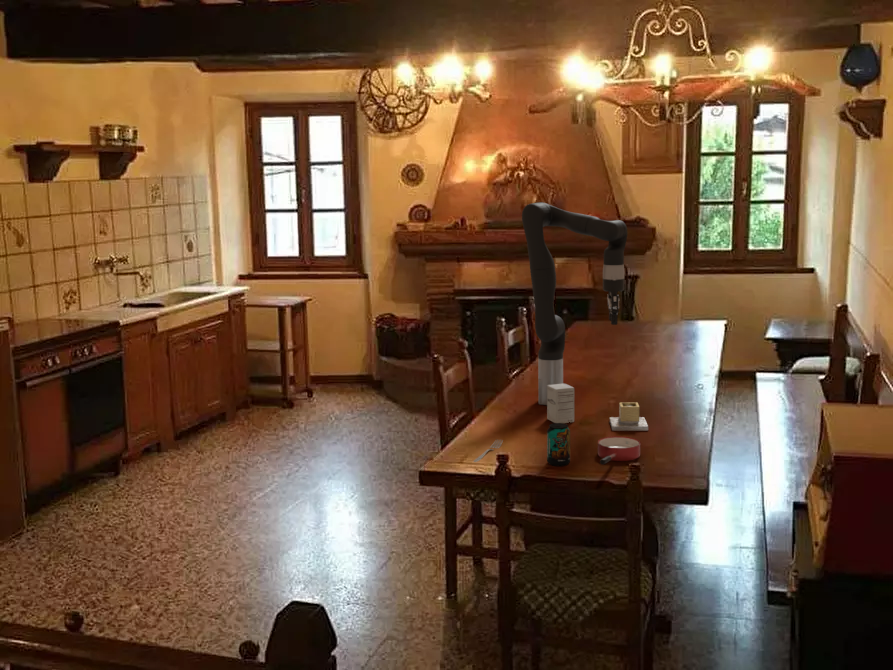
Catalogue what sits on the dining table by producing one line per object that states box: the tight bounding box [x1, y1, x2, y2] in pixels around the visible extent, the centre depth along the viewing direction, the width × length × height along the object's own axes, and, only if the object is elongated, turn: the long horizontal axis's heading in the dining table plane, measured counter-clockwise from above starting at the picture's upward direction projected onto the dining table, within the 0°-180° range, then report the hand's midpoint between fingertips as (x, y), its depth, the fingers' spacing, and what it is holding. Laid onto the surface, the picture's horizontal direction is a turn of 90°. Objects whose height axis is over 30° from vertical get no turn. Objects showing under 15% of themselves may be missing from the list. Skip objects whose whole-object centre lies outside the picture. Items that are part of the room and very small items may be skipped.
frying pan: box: [597, 435, 641, 465], centre depth 310 cm, size 32×13×6 cm, turn 165°
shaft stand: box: [609, 405, 649, 432], centre depth 352 cm, size 12×12×7 cm
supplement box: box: [546, 382, 575, 424], centre depth 360 cm, size 7×7×13 cm
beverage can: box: [546, 422, 571, 467], centre depth 311 cm, size 7×7×12 cm
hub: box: [618, 402, 640, 421], centre depth 352 cm, size 6×6×5 cm
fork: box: [473, 439, 504, 463], centre depth 324 cm, size 3×24×2 cm, turn 156°
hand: (613, 322), depth 365 cm, fingers open, 8 cm apart
